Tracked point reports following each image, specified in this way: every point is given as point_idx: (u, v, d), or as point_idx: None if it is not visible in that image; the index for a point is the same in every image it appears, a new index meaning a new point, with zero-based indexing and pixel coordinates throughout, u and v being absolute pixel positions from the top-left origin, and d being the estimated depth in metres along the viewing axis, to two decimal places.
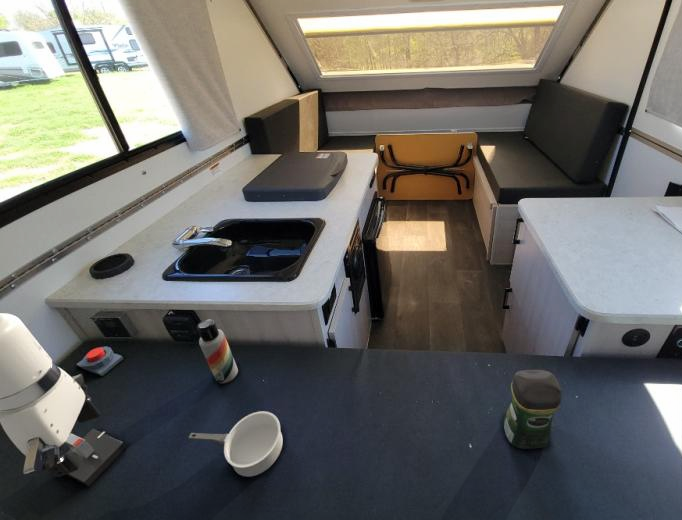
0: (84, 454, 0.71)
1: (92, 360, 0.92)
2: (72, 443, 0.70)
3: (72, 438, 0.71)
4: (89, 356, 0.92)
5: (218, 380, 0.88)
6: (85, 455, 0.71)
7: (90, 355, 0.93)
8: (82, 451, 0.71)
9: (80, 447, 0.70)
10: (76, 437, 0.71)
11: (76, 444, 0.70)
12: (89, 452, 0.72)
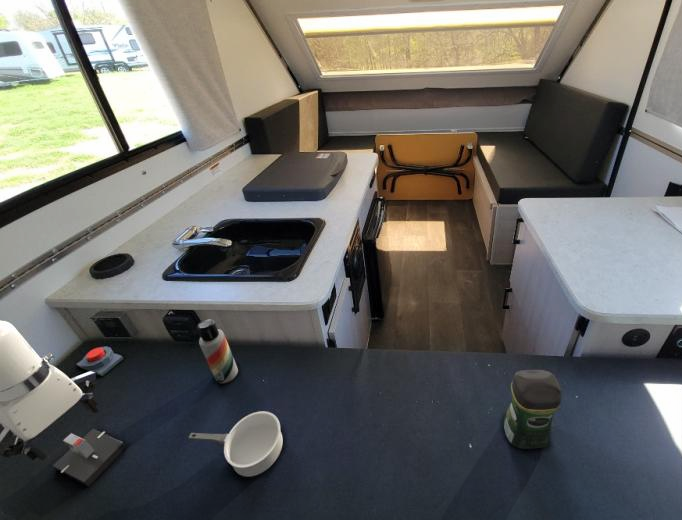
0: (84, 454, 0.71)
1: (92, 360, 0.92)
2: (72, 443, 0.70)
3: (72, 438, 0.71)
4: (89, 356, 0.92)
5: (218, 380, 0.88)
6: (85, 455, 0.71)
7: (90, 355, 0.93)
8: (82, 451, 0.71)
9: (80, 447, 0.70)
10: (76, 437, 0.71)
11: (76, 444, 0.70)
12: (89, 452, 0.72)
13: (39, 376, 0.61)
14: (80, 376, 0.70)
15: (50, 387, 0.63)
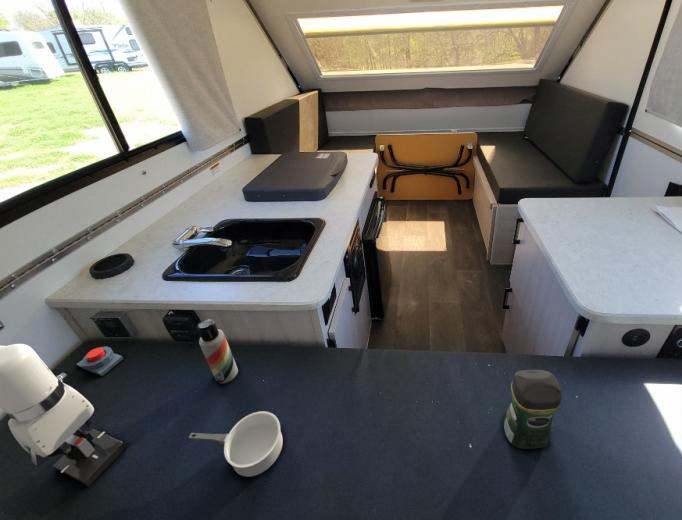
0: (85, 453, 0.71)
1: (92, 360, 0.92)
2: (72, 443, 0.70)
3: (72, 439, 0.71)
4: (89, 356, 0.92)
5: (218, 380, 0.88)
6: (86, 454, 0.71)
7: (90, 355, 0.93)
8: (83, 450, 0.71)
9: (81, 446, 0.70)
10: (76, 437, 0.71)
11: (77, 443, 0.70)
12: (90, 451, 0.72)
13: (57, 394, 0.64)
14: None
15: (66, 404, 0.67)
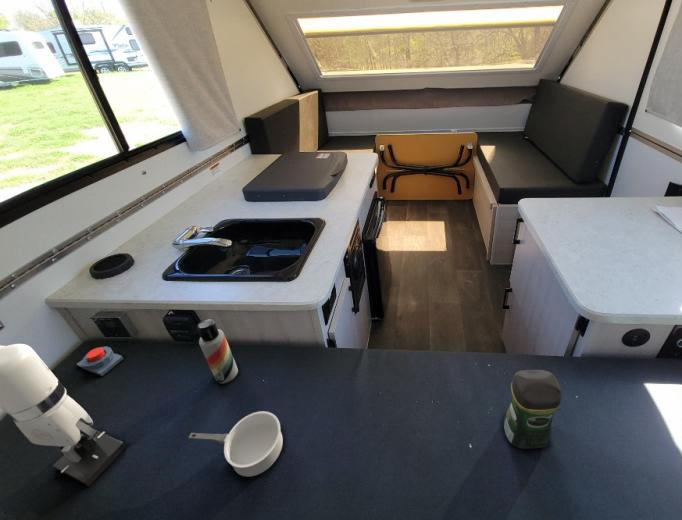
0: None
1: (92, 360, 0.92)
2: None
3: None
4: (89, 356, 0.92)
5: (218, 380, 0.88)
6: (93, 438, 0.74)
7: (90, 355, 0.93)
8: None
9: None
10: None
11: None
12: None
13: None
14: None
15: None
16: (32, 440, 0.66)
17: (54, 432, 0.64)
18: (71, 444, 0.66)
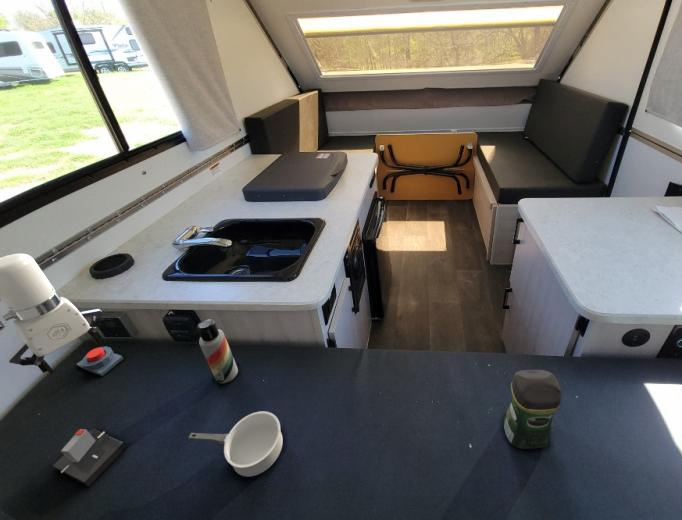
0: (92, 437, 0.74)
1: (92, 360, 0.92)
2: (78, 437, 0.71)
3: (71, 442, 0.70)
4: (89, 356, 0.92)
5: (218, 380, 0.88)
6: (93, 438, 0.74)
7: (90, 355, 0.93)
8: None
9: None
10: (71, 440, 0.71)
11: (82, 431, 0.72)
12: None
13: None
14: (17, 349, 0.73)
15: None
16: (43, 350, 0.75)
17: (72, 319, 0.78)
18: (87, 328, 0.81)
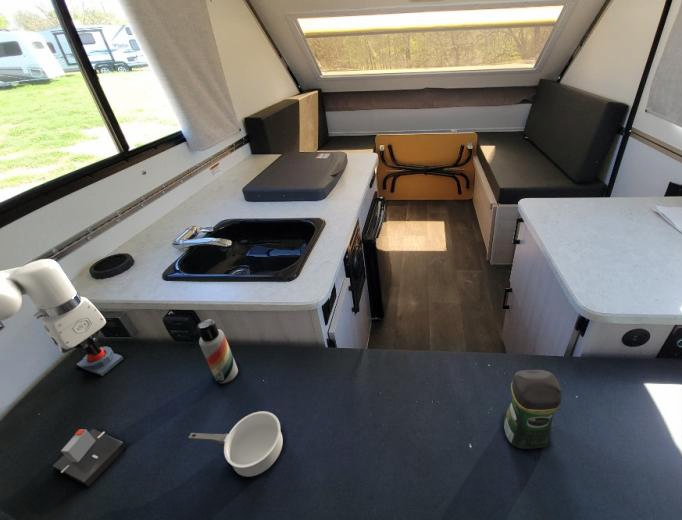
0: (92, 437, 0.74)
1: (92, 360, 0.92)
2: (78, 437, 0.71)
3: (71, 442, 0.70)
4: (89, 356, 0.92)
5: (218, 380, 0.88)
6: (93, 438, 0.74)
7: (90, 355, 0.93)
8: None
9: None
10: (71, 440, 0.71)
11: (82, 431, 0.72)
12: None
13: None
14: (59, 344, 0.85)
15: None
16: (70, 343, 0.85)
17: (92, 314, 0.89)
18: (104, 322, 0.92)
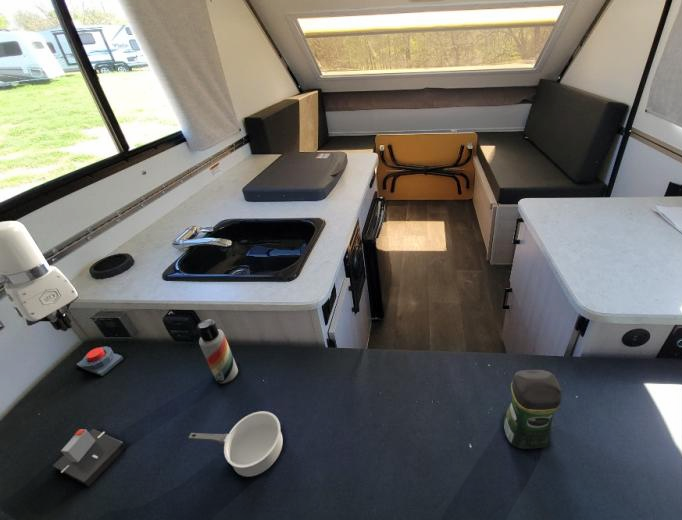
0: (92, 437, 0.74)
1: (92, 360, 0.92)
2: (78, 437, 0.71)
3: (71, 442, 0.70)
4: (89, 356, 0.92)
5: (218, 380, 0.88)
6: (93, 438, 0.74)
7: (90, 355, 0.93)
8: None
9: None
10: (71, 440, 0.71)
11: (82, 431, 0.72)
12: None
13: None
14: (23, 316, 0.78)
15: None
16: (36, 314, 0.78)
17: (62, 285, 0.82)
18: (76, 295, 0.86)
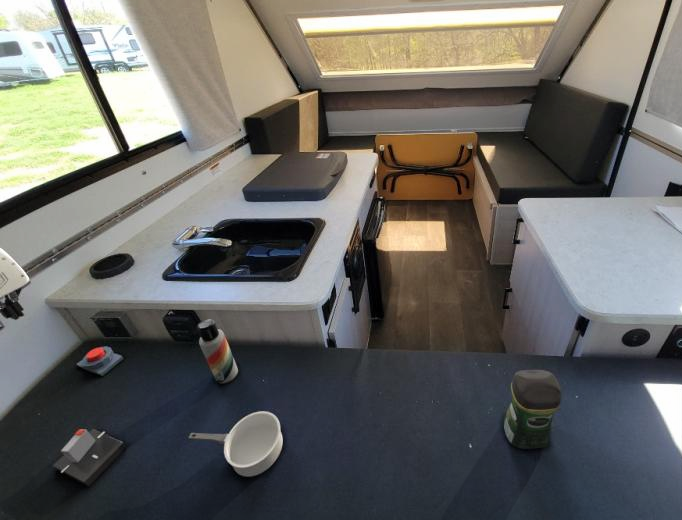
0: (92, 437, 0.74)
1: (92, 360, 0.92)
2: (78, 437, 0.71)
3: (71, 442, 0.70)
4: (89, 356, 0.92)
5: (218, 380, 0.88)
6: (93, 438, 0.74)
7: (90, 355, 0.93)
8: None
9: None
10: (71, 440, 0.71)
11: (82, 431, 0.72)
12: None
13: None
14: None
15: None
16: None
17: (9, 268, 0.74)
18: (26, 279, 0.77)
